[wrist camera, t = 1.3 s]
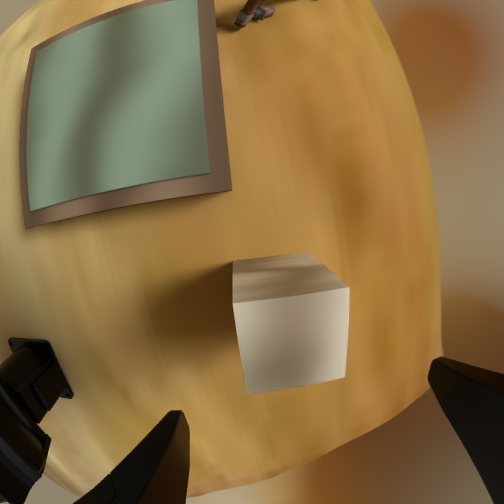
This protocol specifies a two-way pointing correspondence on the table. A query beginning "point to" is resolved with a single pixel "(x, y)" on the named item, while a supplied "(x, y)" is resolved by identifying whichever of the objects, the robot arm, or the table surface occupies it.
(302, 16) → the table surface
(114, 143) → the brown and green tray
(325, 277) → the maple block
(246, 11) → the grey brown jointed piece
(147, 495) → the robot arm
